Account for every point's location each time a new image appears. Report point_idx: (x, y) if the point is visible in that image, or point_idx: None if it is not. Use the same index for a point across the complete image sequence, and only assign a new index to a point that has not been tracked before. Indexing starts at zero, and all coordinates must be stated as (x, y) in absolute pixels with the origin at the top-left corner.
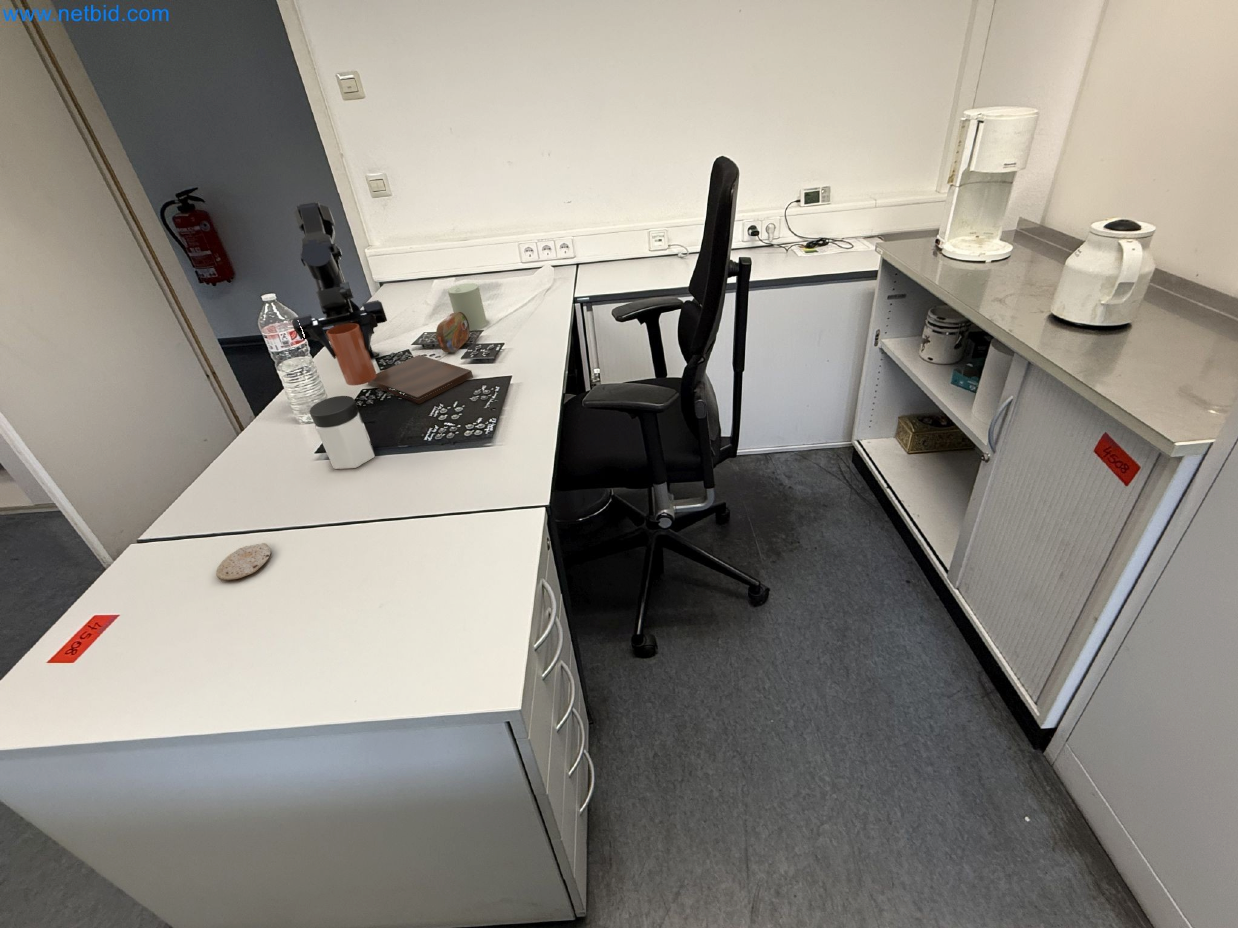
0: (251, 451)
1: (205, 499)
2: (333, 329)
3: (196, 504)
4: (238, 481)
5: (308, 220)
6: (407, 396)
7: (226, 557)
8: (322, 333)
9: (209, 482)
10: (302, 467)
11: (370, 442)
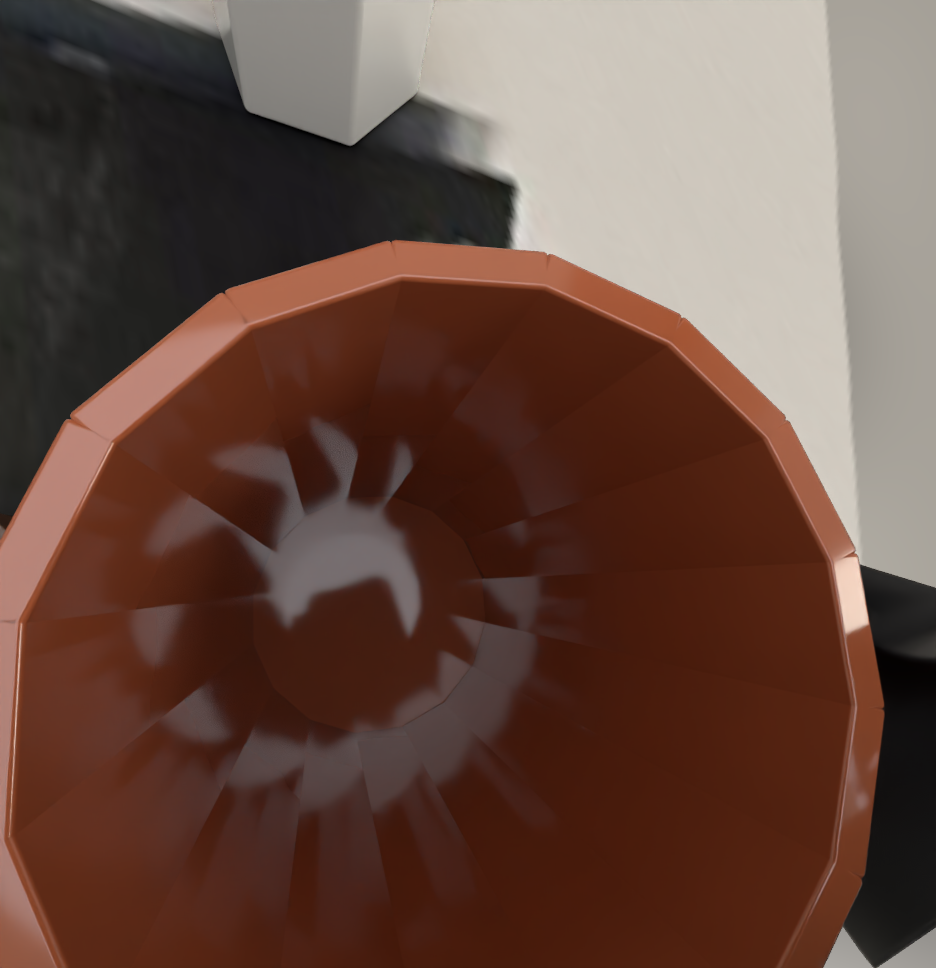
0: (784, 309)
1: (778, 44)
2: (786, 847)
3: (790, 29)
4: (727, 105)
5: None
6: None
7: None
8: (927, 640)
9: (820, 144)
10: (528, 92)
11: (228, 43)
